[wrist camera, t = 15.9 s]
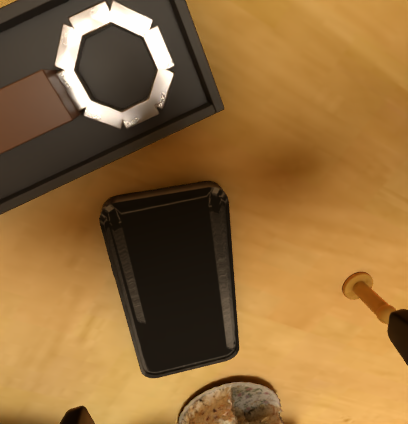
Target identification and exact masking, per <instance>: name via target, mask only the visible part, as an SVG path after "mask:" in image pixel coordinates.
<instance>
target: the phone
mask: <svg viewBox="0 0 408 424" xmlns="http://www.w3.org/2000/svg"><path fill="white" fill-rule="evenodd" d="M99 219H100V226H101V230H102V233H103V237H104V240H105V244H106V248H107V252H108V255H109V259H110V262H111V267H112V271H113V274H114V276H115V280H116V284H117V287H118V291H119V294H120V298H121V301H122V305H123V309H124V312H125V316H126V319H127V323H128V327H129V330H130V334H131V337H132V341H133V345H134V348H135V352H136V355H137V359H138V363H139V366H140V370H141V372H142V374H143V375H144V376H146V377H148V378H159V377H163V376H167V375H171V374H175V373H179V372H183V371H187V370H191V369H195V368H200V367H204V366H208V365H212V364H216V363H220V362H224V361H227V360H230V359H232V358H233V357H235V356H236V355H237V353H238V351H239V338H238V325H237V311H236V297H235V283H234V269H233V255H232V241H231V227H230V213H229V201H228V197H227V195H226V194H225V192H224V191H223V189H222V188H221V187H220V186H219V185H218V184H217V183H214V182H211V181H204V182H198V183H192V184H186V185H180V186H174V187H167V188H161V189H155V190H149V191H143V192H137V193H131V194H125V195H119V196H115V197H112V198H110V199H108V200H107V201H106V202H105V203H104V205H103V207H102V211H101V215H100V218H99Z"/></svg>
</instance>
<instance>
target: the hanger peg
mask: <svg viewBox="0 0 408 424" xmlns="http://www.w3.org/2000/svg"><path fill="white" fill-rule="evenodd" d="M372 286H373V279H372V277H371V276H370V275H369V274H367V273H364V272H360V273H356V274H354V275H352V276H350V277H349V278H348V279H347V280H346V282H345V283H344V285H343V293H344V295H345V296H346V297H347V298H349V299H352V300H355V299H359V298H360V299H361V300H362V301H363V302H364V303H365V304H366V305H367V306H368V307H369V308H370V309H371V310H372V311H373V312H374V313H375V314H376V316H377V318H378V319H379V320H380V321H381V322H382V323H385V324H388V322H389V315H390V313H391V312H393V311H396V309H395V308H394V307H392V306H390V305H388V304H387V303H386V302H385V301H384V300H383V299H382V298H381V297H380V296H379V295H378V294H377V293H375V292H374V291H373V290H372V289H371V288H372Z"/></svg>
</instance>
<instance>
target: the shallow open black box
mask: <svg viewBox="0 0 408 424" xmlns="http://www.w3.org/2000/svg"><path fill="white" fill-rule="evenodd" d="M101 1H103V0H17V1H15V2H12V3H10V4H8V5H6V6H4V7H2V8H0V89H1V88H3V87H5V86H7V85H9V84H11V83H14V82H16V81H18V80H20V79H22V78H24V77H26V76H28V75H31V74H33V73H35V72H37V71H39V70H41V69H45V70H58V71H60V70H61V69H59V68H56V67H54V62H55V57H56V53H57V48H58V43H59V38H60V34H61V29H62V24H63V23H65V24H68V25H70V26H71V24H70V23H69V21H68V17H69V16H71V15H73V14H75V13H78V12H80V11H82V10H84V9H86V8H88V7H90V6H92V5H95V4H97V3H99V2H101ZM106 1H107V3H108V5H109V7H110V6H111V2H112V0H106ZM115 1H117V2H119V3H121V4H123V5H125V6H127V7H129V8H131V9H133V10H135V11H137V12H139V13H141V14H143V15H146V16H148V17H150V18H152V19H153V23H152V27H154V26H156V25H158V26H159V28H160V30H161V33H162V35H163V37H164V40H165V42H166V45H167V47H168V50H169V52H170V54H171V57H172V59H173V62H174V64H175V66H174V67H173V68H171V69H169V70H171V71H174V72H175V75H174V78H173V81H172V84H171V87H170V90H169V93H168V96H167V99H166V102H165V105H164V108H163V109H160V108H157V110H158V112H159V114H158V115H156V116H154V117H151V118H149V119H147V120H145V121H143V122H141V123H139V124H137V125H134V126H132V127H130V128H128V129H126V128H125V126H124V124H122V127H121V129H118V128H115V127H112V126H109V125H106V124H104V123H101V122H98V121H95V120H92V119H90V118H87V117H84V116H83V113H84V109H83V110H82V112H83V113H82V114H80V115H79V116H78V117H76V118H75V119H74V120H72V121H70V122H68V123H66V124H64V125H61V126H59V127H57V128H55V129H53V130H51V131H49V132H47V133H44V134H42V135H40V136H38V137H36V138H34V139H32V140H30V141H27V142H25V143H23V144H21V145H19V146H17V147H15V148H13V149H10V150H8V151H6V152H4V153H2V154H0V214H3V213H5V212H7V211H9V210H11V209H13V208H15V207H17V206H20V205H22V204H24V203H26V202H28V201H30V200H32V199H34V198H37V197H39V196H41V195H43V194H45V193H47V192H49V191H51V190H54V189H56V188H58V187H60V186H62V185H64V184H66V183H69V182H71V181H73V180H75V179H77V178H79V177H81V176H83V175H86V174H88V173H90V172H92V171H94V170H96V169H98V168H100V167H103V166H105V165H107V164H109V163H111V162H113V161H115V160H117V159H120V158H122V157H124V156H126V155H128V154H130V153H132V152H134V151H137V150H139V149H141V148H143V147H145V146H147V145H149V144H151V143H154V142H156V141H158V140H160V139H162V138H164V137H166V136H168V135H171V134H173V133H175V132H177V131H179V130H181V129H183V128H186V127H188V126H190V125H192V124H194V123H196V122H198V121H200V120H203V119H205V118H207V117H209V116H211V115H213V114H215V113H217V112H220V111H222V110H224V105H223V103H222V100H221V97H220V94H219V92H218V89H217V86H216V83H215V81H214V78H213V75H212V72H211V70H210V67H209V64H208V61H207V59H206V56H205V53H204V50H203V48H202V45H201V42H200V39H199V37H198V34H197V31H196V28H195V26H194V23H193V20H192V17H191V15H190V12H189V9H188V6H187V4H186V1H185V0H115ZM152 27H151V28H152ZM78 71H79V73H80V74H81V76H82V78H83V80H84V82H85V83H86V85H87V87H88V89H89V91H90V92H91V94H92V96H93V98H94V99H96V100H99V101H102V102H104V103H107V104H109V105H112V106H115V107H117V108H120V109H124V108H126V107H128V106H130V105H132V104H134V103H137V102H139V101H141V100H143V99H145V98H147V96H148V93H149V90H150V87H151V84H152V80H153V77H154V74H155V71H156V69H155V66H154V64H153V62H152V60H151V57H150V55H149V53H148V50H147V48H146V46H145V44H144V41H143V39H141V38H138V37H136V36H134V35H132V34H130V33H128V32H125V31H123V30H121V29H119V28H117V27H115V26H111V27H109V28H107V29H105V30H103V31H100V32H98V33H96V34H94V35H92V36H90V37H88V38H86V39H85V42H84V46H83V51H82V55H81V59H80V63H79V68H78Z"/></svg>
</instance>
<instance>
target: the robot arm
mask: <svg viewBox="0 0 408 424" xmlns="http://www.w3.org/2000/svg"><path fill="white" fill-rule="evenodd" d="M388 336H389V338H390V340H391V342H392V343H393V345H394V346H395V348H396V349H397V351H398V352H399V353H400V355H401V356H402V358H403V359H404V361H405V362H406V364H407V365H408V310H406V309H400V310H397V311H393V312H391V313H390V315H389V322H388ZM60 424H95V423H94V421H93V419H92V418H91V416H90V414H89V413H88V411H87V409H86V408H85V407H84V406H79V407H76V408H73V409H70V410H68V411H67V412H66V414H65V415H64V417H63V419H62V420H61V422H60Z"/></svg>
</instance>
